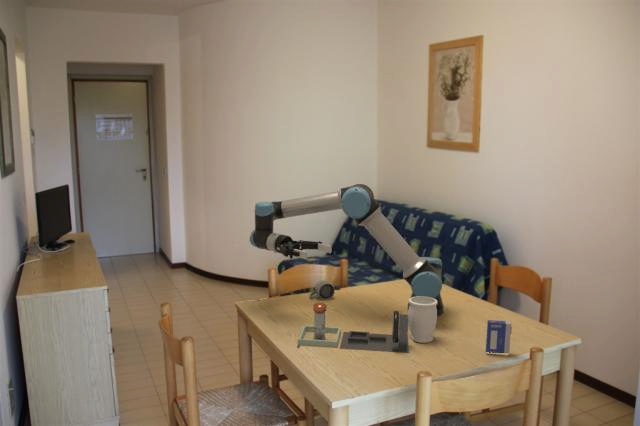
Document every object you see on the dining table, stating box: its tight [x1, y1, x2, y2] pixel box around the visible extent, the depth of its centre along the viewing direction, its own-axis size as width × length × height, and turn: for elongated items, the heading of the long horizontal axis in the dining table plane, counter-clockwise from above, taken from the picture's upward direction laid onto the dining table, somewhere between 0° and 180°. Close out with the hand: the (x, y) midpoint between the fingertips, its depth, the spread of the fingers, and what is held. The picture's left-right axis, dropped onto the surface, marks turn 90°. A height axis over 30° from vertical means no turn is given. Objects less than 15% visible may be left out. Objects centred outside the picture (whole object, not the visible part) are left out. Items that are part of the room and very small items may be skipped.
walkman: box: [485, 319, 513, 354], centre depth 201 cm, size 8×3×12 cm, turn 81°
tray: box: [297, 325, 342, 348], centre depth 211 cm, size 14×14×3 cm
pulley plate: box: [339, 310, 410, 354], centre depth 208 cm, size 24×16×14 cm, turn 83°
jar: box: [407, 296, 438, 344], centre depth 214 cm, size 11×10×15 cm
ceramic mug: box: [308, 280, 335, 301], centre depth 261 cm, size 11×8×8 cm
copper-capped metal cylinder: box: [312, 302, 328, 340], centre depth 210 cm, size 5×5×13 cm
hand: (319, 252), depth 220 cm, fingers open, 13 cm apart
